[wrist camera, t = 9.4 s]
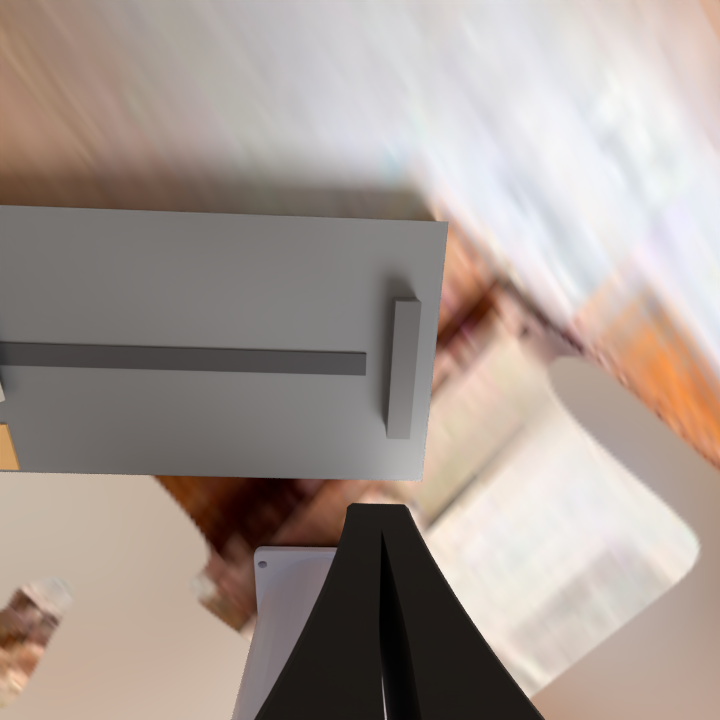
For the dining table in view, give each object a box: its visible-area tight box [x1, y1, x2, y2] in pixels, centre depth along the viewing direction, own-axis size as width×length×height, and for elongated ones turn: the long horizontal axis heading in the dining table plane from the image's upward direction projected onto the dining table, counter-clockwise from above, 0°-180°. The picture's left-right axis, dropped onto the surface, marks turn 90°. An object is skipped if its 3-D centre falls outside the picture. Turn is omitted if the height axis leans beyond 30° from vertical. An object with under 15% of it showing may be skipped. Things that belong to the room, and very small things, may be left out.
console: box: [0, 205, 448, 481], centre depth 16 cm, size 12×28×3 cm, turn 88°
